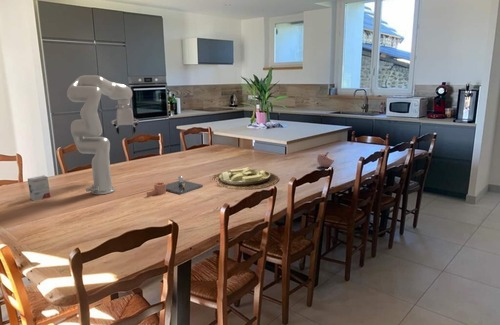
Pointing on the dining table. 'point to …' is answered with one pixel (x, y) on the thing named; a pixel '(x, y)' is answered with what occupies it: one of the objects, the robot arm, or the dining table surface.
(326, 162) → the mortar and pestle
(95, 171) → the robot arm
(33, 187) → the ink box
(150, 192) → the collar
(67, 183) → the dining table surface
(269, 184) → the plate
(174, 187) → the post plate
